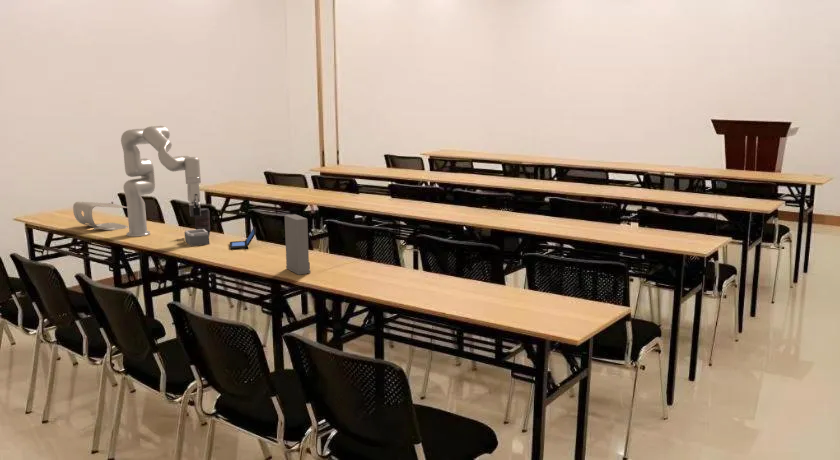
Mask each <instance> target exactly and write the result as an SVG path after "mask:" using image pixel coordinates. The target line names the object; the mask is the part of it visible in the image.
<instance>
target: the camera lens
mask: <svg viewBox="0 0 840 460" xmlns="http://www.w3.org/2000/svg"><path fill="white" fill-rule="evenodd" d="M210 215H211V214H210V210H209V208H201V216H198V217H194V221H195V222H194V223H195V225H194V226H195V230H197V229H205V230H206V231H207V232H208V235H209V236H210V235H211V234H210V233H211V222H210V221H211V220H210V218H211V217H210Z"/></svg>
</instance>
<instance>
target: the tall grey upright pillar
mask: <svg viewBox="0 0 840 460" xmlns="http://www.w3.org/2000/svg"><path fill="white" fill-rule="evenodd" d="M308 227H309V223H308V218H307V217H303V216H301V215H298V214H287V215H286V214H285V215H284V230H285V231H284V232H285V233H284V234H285V235H284V236H285V239H284V241H285V259H286V265H285V268H286V269H287V270H289V271H291V272H292V273H295V274H296V275H298V276H301V275H304V274H307V273H309V274H311V271H312V270H311V266H310V264H311V263H310V257H309V232H308V231H309V229H308Z"/></svg>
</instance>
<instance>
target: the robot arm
mask: <svg viewBox="0 0 840 460" xmlns="http://www.w3.org/2000/svg"><path fill="white" fill-rule="evenodd" d="M170 136H171V134H170V131H169V129H168V128H167V127H166V126H163V125H155V126H153V125H151V126H147V127H145V128H134V129H128V130H124V132H123V133H122V134H121V137H120V142H121V143H120V144H121V146H122V152H123V163H124V164H123V165H124V171H125V174H126V176H128V177H132V178H133V177H139V178H133V179H128V180H126V181H124V184H123V192H124V195H125V201H126V207H127V208H126V209H127V210H126V211H127V221H128V232H126V236H127V237H144V236H148V235H150V234H151V231H149V230H148V226H147V224H148V223H147V214H146V203H145V200H144V198H142V196H145V195H150V194H153V193H154V191H155V188H156V183H155V182H156V181H155V179H156V178H155V169H154V165H153V162H152V161H151V160H150V159H148V158H141V151H140V150H139V148H138V146H137V145H146V144H147V145H150V146H151V147H153V149H155V151H157V156H158V160H159V162H160V164H161V165H162V166H163V167H164V168H165V169H166V170H169V171H170V172H179V171H180V172H181V171H184V174H185V184H187V201H188V203H192V202H193V206H194V208H193V214H194V215H200V208H199V202H200V203H201V192H200V191H201V190H200V184H201V181H202V180H201V166H200V158H199V157H197V156H188V155H181V156H171V155H170V154H169V153H168V152H170V151H171V149H172V145H173V144H172V142H171V140H169V138H170Z"/></svg>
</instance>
